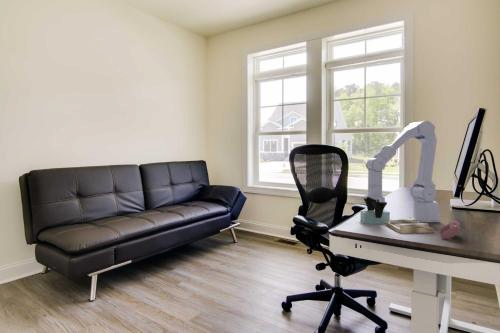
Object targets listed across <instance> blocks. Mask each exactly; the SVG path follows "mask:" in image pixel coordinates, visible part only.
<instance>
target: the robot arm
mask: <svg viewBox="0 0 500 333" xmlns="http://www.w3.org/2000/svg"><path fill="white" fill-rule="evenodd" d="M435 131H436V125H434V124H433V123H432V122H431V121H430V120H422V121H417V122H416V121H415V122H410V123H409V124H408V125H407V126H406V127H404V129H403V130H402V131H401V133H399V135H398V136H397V137H396V138H395V139H394V140H393V141H392V142H391V143H390V144H389V145H388V144H386V145H382V146H381V148H380V150H379V151H378V152H377V153H376V154H373V157H370V158H368V159H367V162H366V164H365V167H366V169H367V174H368V175H367V192H365V195H364V196H365V197H364V198H363V201H364V203H365V205H366V206H365V207H366V210H375V216H376V218H381V217H382V213H383V210H385V207H387V205H388V202H387V201H386V200H385V199H386V198H385V197H384V196H383V171H384V170H385V167H386V165H387V164H388V163H389V162H390V161H391V160H392V159H393V158H394V157H395V156H396V155H397V150H398V149H399V148H400V147H402V146H403V145H404V144H405V143H406V142H407V141H409V140H410V139H412V138H413V139H416V140H418V141H419V143H421V147H420V148H421V149H420V156H419V164H418V172H417V178H416V179H415V180H414V181H413V182H412V183H413V184H412V187H410V195H411V197H412V199H413V209H412V210H413V212H412V214H413V215H412V216H411V217H408V219H418V222H419V223H441V220H440V205H439V203H438V202H437V201H436V200H435V199H436V198H437V190H436V184H435V182H434V181H433V180H432V179H433V171H434V163H435V157H436V150H437V140H438V139H437V136H436V132H435Z"/></svg>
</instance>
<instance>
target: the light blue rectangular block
mask: <svg viewBox="0 0 500 333" xmlns="http://www.w3.org/2000/svg"><path fill="white" fill-rule="evenodd" d="M390 214H391V212H390V211H388V210H385V209H384V210H383V213H382V217H381V218H376V216H375V209H374V210H367V209H366V210H365V209H364V210H360V222H361V223H362V224H365V225H366V224H386V222H390V219H391V218H390Z"/></svg>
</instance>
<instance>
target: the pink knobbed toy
mask: <svg viewBox="0 0 500 333" xmlns="http://www.w3.org/2000/svg"><path fill="white" fill-rule="evenodd" d="M460 226H461V224H460V222H459V221H456V220H452V221H450V222H449V223H448V224H446V225H444V226H442V227H441V228H440V232H441V234H440V238H441V239H442V240H449V239H453V238H454V237H455V236H457V235H459V234H461V231H460V230H461V227H460Z"/></svg>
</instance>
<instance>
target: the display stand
mask: <svg viewBox="0 0 500 333" xmlns="http://www.w3.org/2000/svg"><path fill="white" fill-rule="evenodd" d="M429 225H430V224H429V222H418V219H410V218H403V219H402V218H398V219H397V218H396V219H395V218H393V219H392V218H390V222H386V223H385V226H386V227H388V229H391V230H393V231H395V232H397V233H399V234H424V233H425V234H427V233H429V234H430V233H434V228H433V227H430V226H429Z"/></svg>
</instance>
